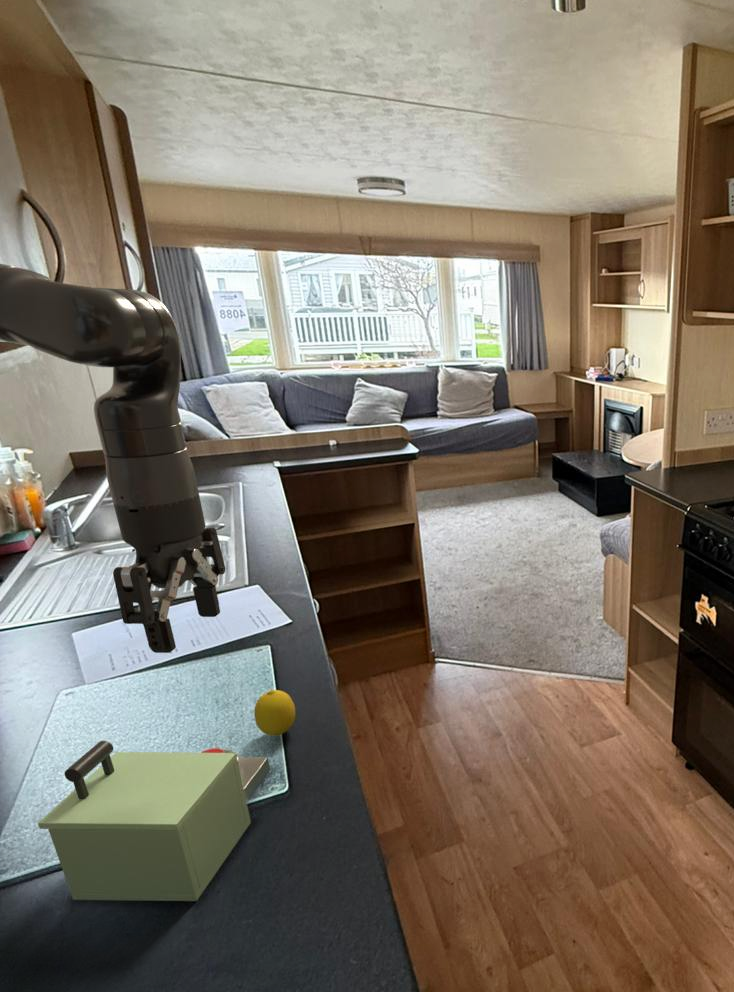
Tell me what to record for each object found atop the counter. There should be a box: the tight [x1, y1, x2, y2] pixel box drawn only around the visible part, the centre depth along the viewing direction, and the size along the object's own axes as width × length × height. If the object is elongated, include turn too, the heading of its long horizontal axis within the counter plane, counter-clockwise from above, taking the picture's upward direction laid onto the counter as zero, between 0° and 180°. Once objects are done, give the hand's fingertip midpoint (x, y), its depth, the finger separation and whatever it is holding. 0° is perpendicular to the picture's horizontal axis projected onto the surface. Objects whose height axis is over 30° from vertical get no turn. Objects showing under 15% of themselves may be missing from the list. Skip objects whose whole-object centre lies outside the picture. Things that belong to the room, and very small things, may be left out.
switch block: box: [222, 749, 271, 803], centre depth 88 cm, size 11×8×4 cm
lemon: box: [254, 689, 296, 737], centre depth 99 cm, size 6×6×8 cm
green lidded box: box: [48, 759, 252, 902], centre depth 76 cm, size 14×12×10 cm
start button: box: [200, 747, 224, 753], centre depth 87 cm, size 4×4×2 cm
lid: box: [37, 740, 237, 830], centre depth 73 cm, size 15×12×5 cm
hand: (188, 632), depth 73 cm, fingers open, 8 cm apart
